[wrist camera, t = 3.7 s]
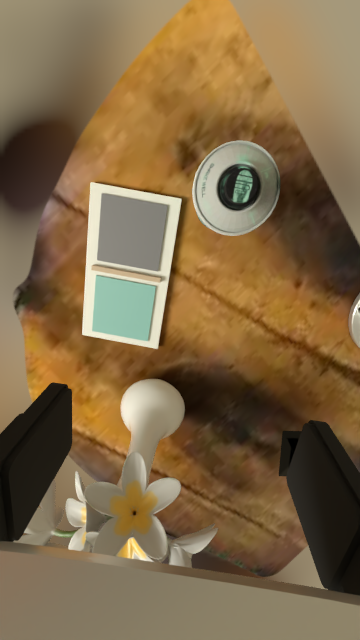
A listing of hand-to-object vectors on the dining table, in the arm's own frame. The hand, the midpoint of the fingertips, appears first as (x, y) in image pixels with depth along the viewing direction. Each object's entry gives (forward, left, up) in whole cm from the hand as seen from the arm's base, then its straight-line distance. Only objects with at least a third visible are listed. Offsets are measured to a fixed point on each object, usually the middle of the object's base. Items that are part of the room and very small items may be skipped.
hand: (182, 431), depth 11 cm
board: (+9, 0, -28) cm, 29 cm away
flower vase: (+3, +19, -28) cm, 34 cm away
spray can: (-1, -10, -28) cm, 29 cm away
